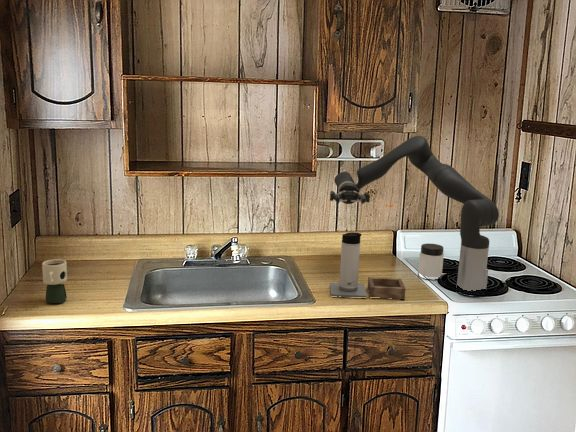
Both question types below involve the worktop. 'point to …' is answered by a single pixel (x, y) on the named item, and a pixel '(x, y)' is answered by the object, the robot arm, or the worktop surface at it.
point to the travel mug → (349, 261)
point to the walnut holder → (386, 288)
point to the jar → (431, 260)
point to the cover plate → (338, 292)
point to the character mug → (55, 280)
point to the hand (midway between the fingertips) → (350, 200)
